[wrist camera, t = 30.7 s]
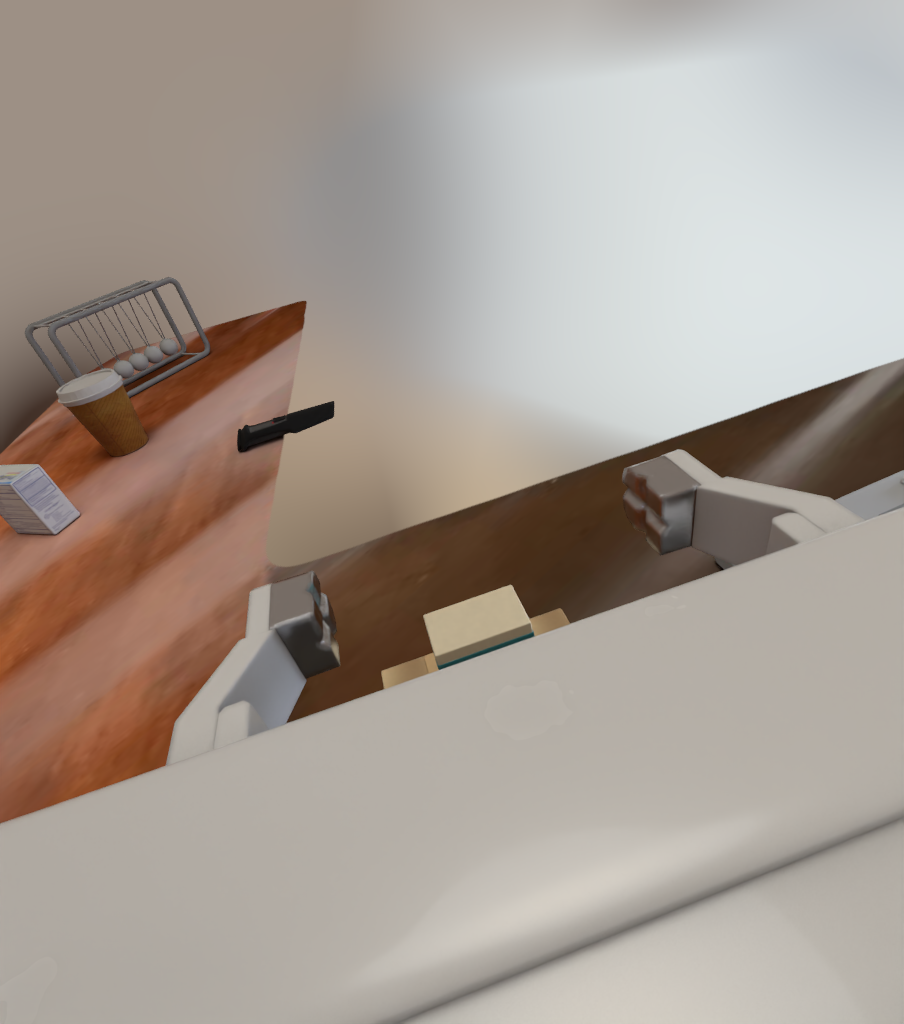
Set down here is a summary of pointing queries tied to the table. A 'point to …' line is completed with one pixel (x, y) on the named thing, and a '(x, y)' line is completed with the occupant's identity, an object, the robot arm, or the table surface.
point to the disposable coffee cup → (105, 411)
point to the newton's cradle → (135, 360)
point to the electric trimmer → (284, 425)
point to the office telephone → (868, 501)
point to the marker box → (477, 626)
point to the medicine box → (33, 500)
